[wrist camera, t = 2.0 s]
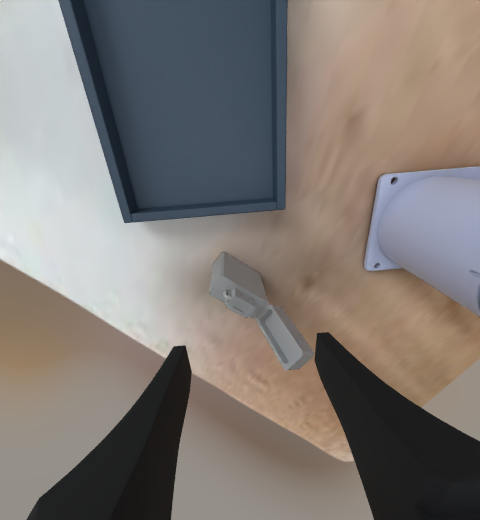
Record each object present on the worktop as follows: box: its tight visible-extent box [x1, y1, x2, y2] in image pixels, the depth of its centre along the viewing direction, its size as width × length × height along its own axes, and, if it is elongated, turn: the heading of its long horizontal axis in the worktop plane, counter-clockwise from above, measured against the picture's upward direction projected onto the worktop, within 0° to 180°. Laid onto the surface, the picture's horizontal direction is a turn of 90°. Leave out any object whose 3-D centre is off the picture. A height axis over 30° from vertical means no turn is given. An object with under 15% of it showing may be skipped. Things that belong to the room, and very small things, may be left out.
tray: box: [59, 0, 288, 223], centre depth 13 cm, size 11×17×2 cm, turn 4°
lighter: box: [209, 252, 314, 370], centre depth 17 cm, size 7×2×8 cm, turn 55°
